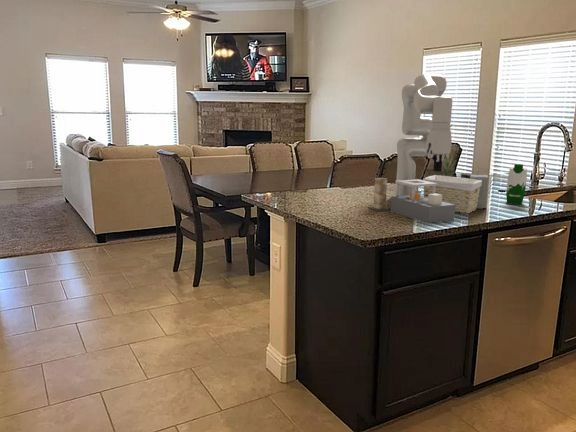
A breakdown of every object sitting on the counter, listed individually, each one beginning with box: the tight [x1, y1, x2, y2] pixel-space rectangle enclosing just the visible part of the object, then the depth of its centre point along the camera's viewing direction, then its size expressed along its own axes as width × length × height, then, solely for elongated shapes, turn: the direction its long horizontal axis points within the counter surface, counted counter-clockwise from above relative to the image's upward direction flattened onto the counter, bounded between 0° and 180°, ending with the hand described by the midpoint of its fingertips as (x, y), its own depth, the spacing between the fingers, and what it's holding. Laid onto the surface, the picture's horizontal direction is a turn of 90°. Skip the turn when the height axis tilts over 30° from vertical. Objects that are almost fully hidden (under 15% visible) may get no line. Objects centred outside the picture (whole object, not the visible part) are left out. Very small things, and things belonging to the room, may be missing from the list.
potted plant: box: [441, 155, 457, 177], centre depth 298 cm, size 10×10×25 cm
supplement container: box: [460, 172, 480, 179], centre depth 278 cm, size 10×10×12 cm
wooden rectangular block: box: [373, 177, 388, 209], centre depth 237 cm, size 4×4×14 cm
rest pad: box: [368, 206, 391, 212], centre depth 238 cm, size 7×7×1 cm
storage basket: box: [423, 174, 482, 214], centre depth 240 cm, size 24×16×15 cm
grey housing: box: [389, 178, 456, 224], centre depth 224 cm, size 26×14×14 cm, turn 25°
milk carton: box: [505, 163, 528, 205], centre depth 258 cm, size 9×9×20 cm
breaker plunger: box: [409, 193, 422, 200], centre depth 229 cm, size 5×5×8 cm
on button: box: [428, 193, 442, 205], centre depth 217 cm, size 4×4×7 cm
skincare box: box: [470, 174, 489, 209], centre depth 245 cm, size 8×7×16 cm
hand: (437, 170), depth 213 cm, fingers closed
